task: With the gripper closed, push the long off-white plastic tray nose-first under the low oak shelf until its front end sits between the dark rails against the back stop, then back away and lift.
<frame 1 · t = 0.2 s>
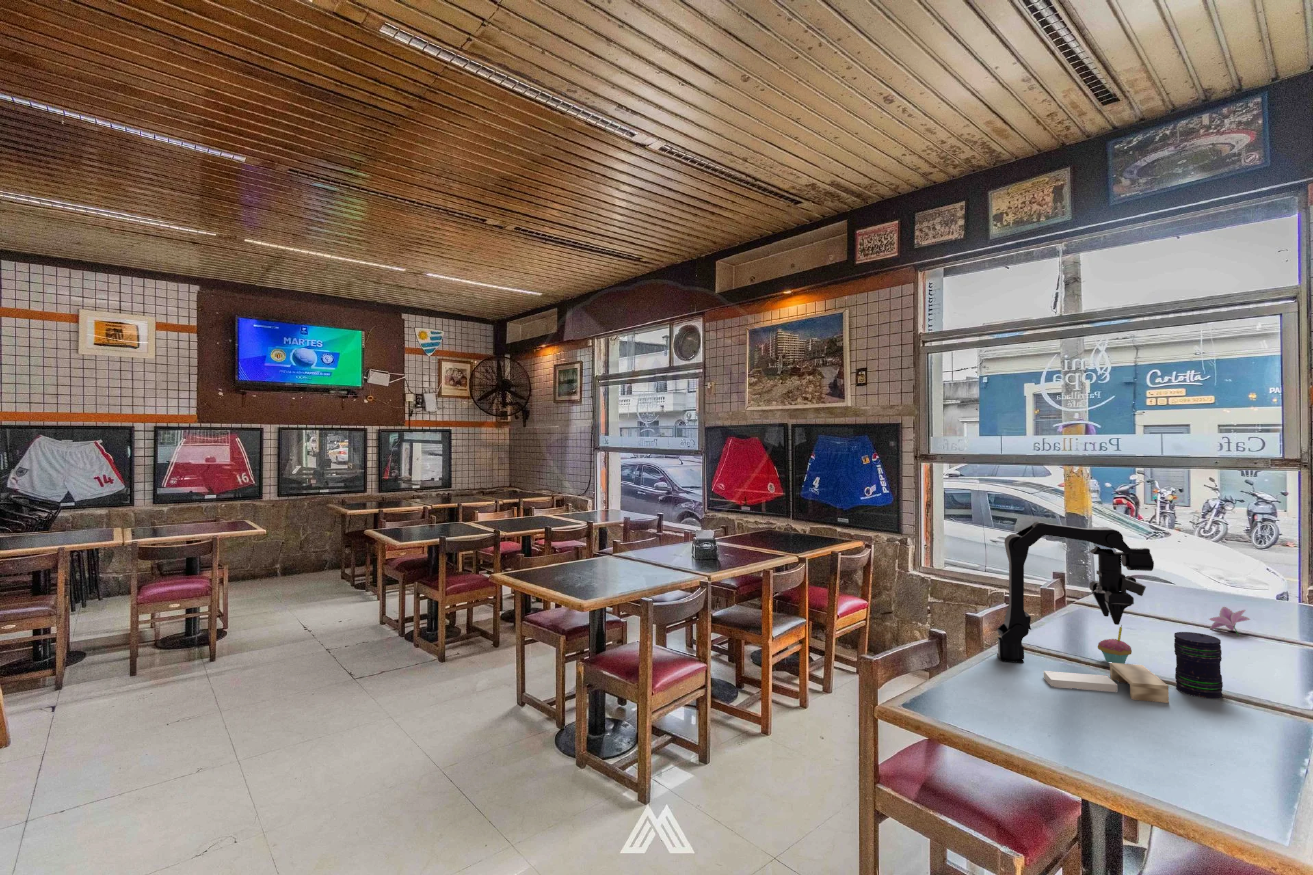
hand: (1111, 620, 188), 14 cm above the table, tool pointing down, fingers open, 9 cm apart
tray: (1079, 686, 176), on the table
cupcake: (1115, 663, 192), on the table
shelf: (1138, 689, 171), on the table
storage jar: (1198, 692, 169), on the table
lily: (1229, 633, 219), on the table
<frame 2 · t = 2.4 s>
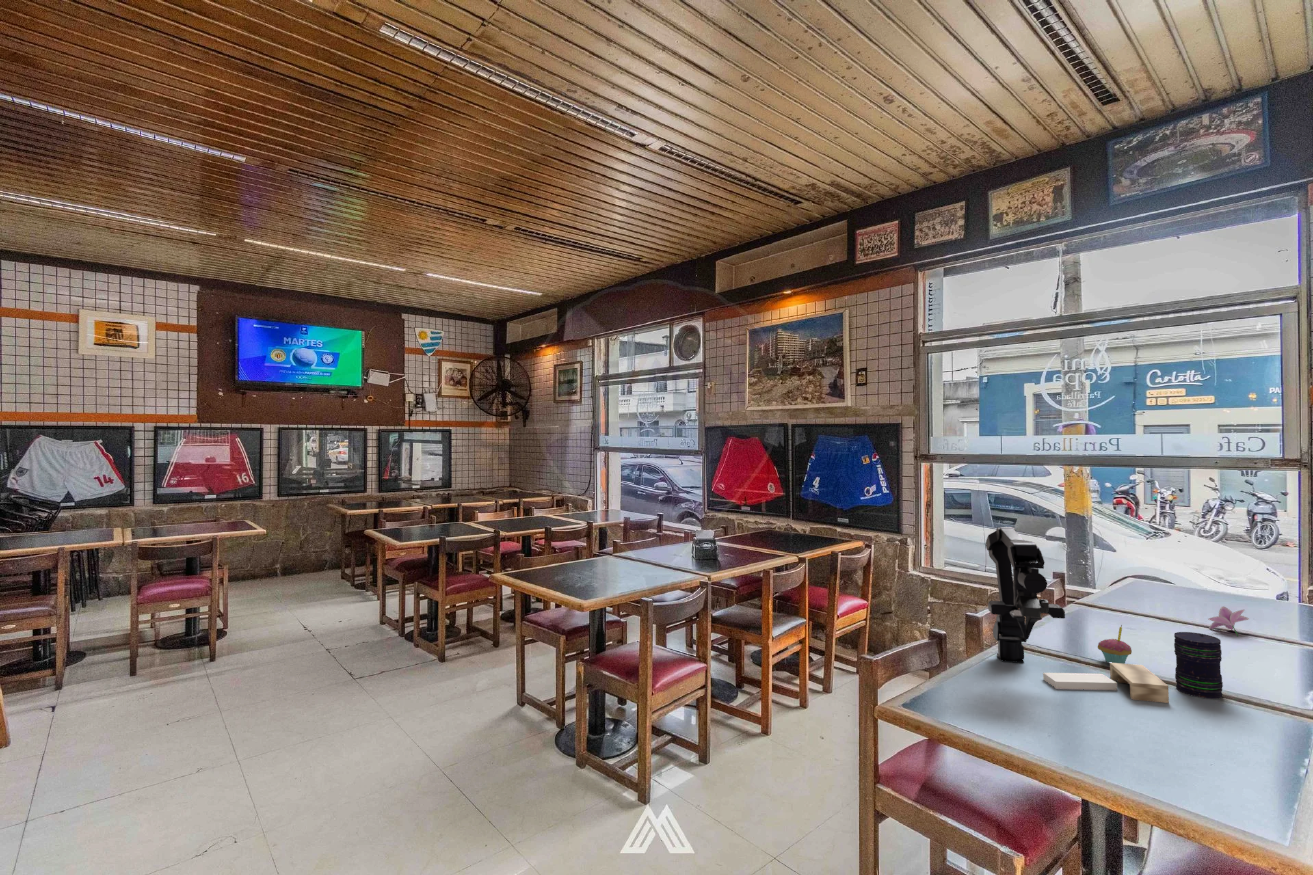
hand: (1026, 638, 180), 12 cm above the table, tool pointing down, fingers closed
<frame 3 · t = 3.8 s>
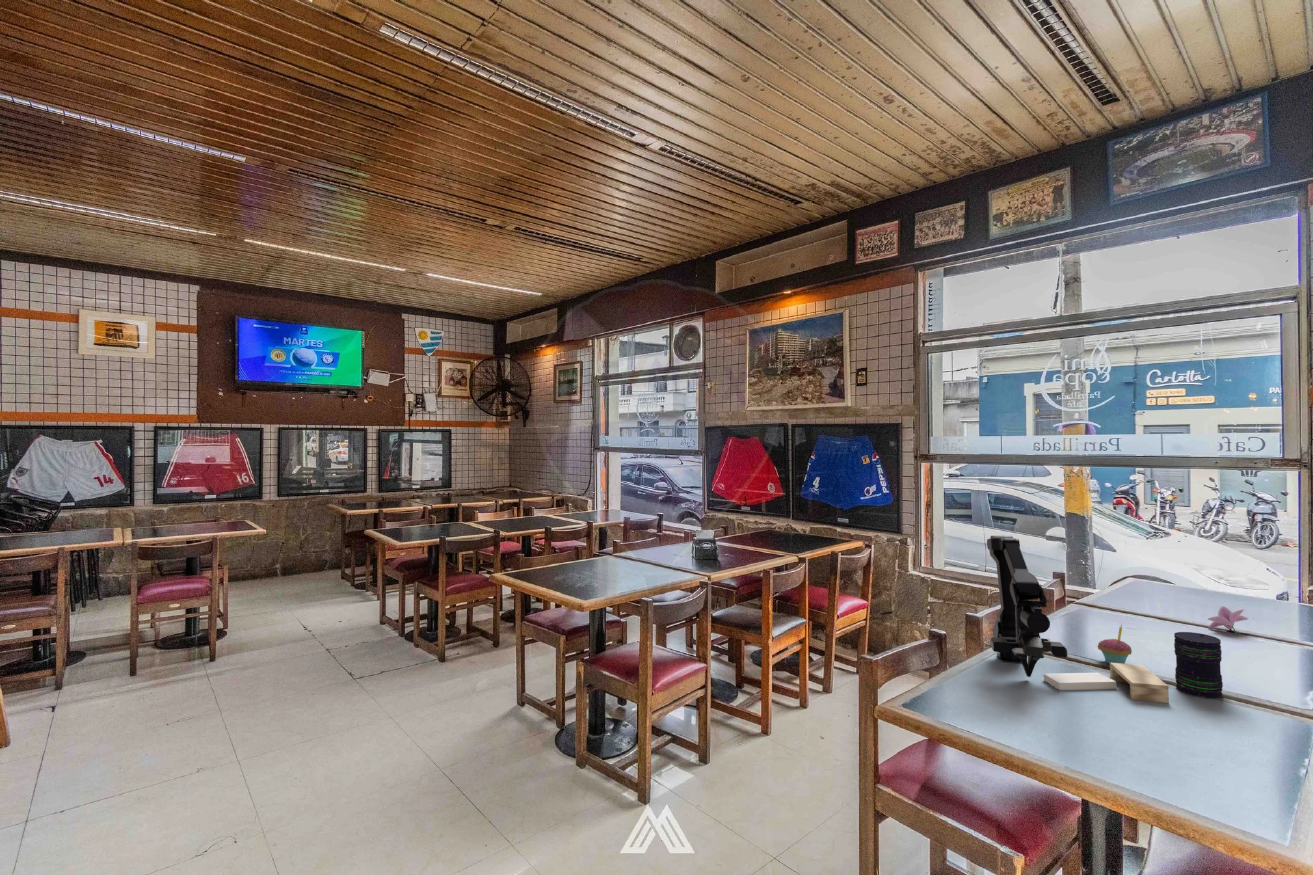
hand: (1028, 676, 180), 1 cm above the table, tool pointing down, fingers closed
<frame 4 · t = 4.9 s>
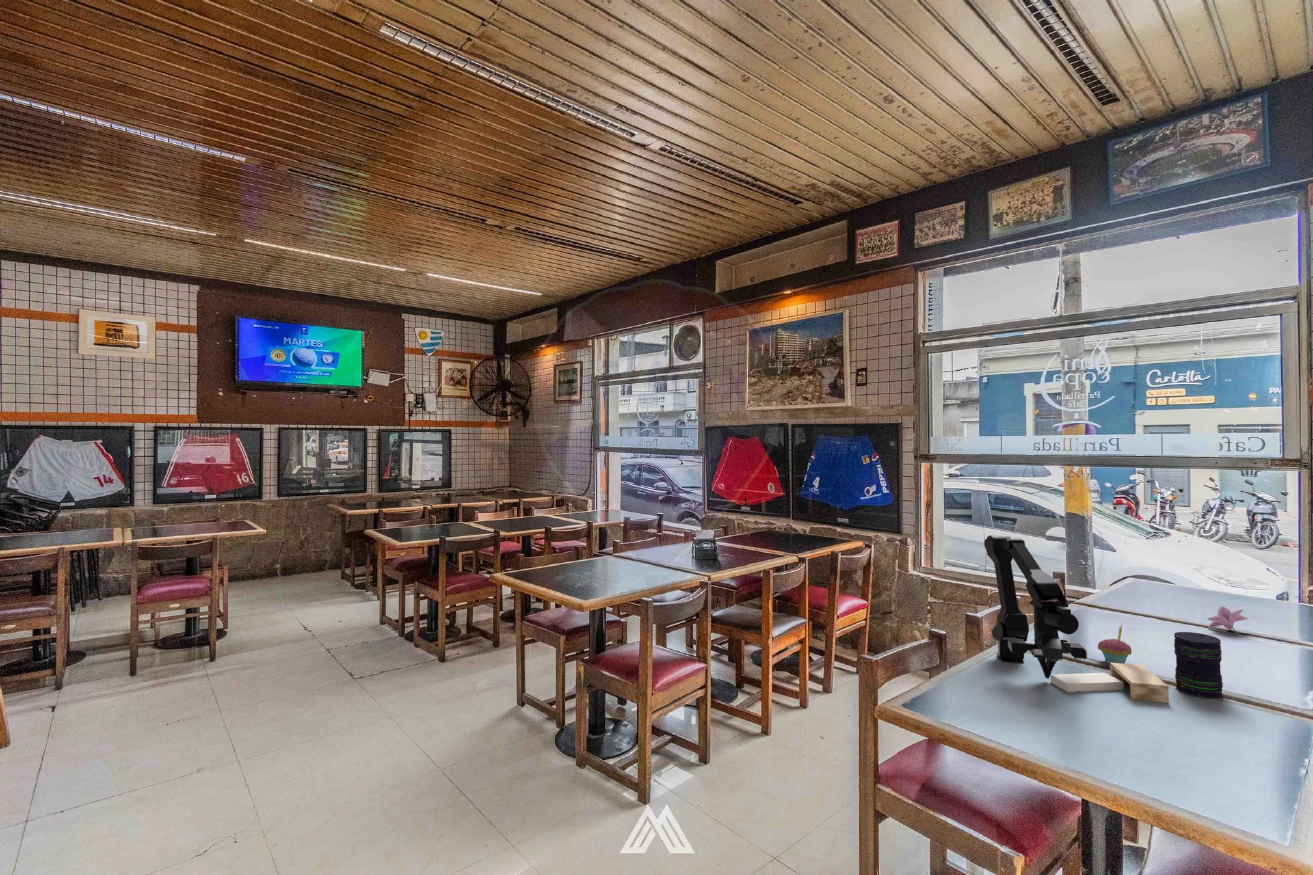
hand: (1047, 677, 178), 1 cm above the table, tool pointing down, fingers closed
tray: (1086, 686, 175), on the table
everything else where it was.
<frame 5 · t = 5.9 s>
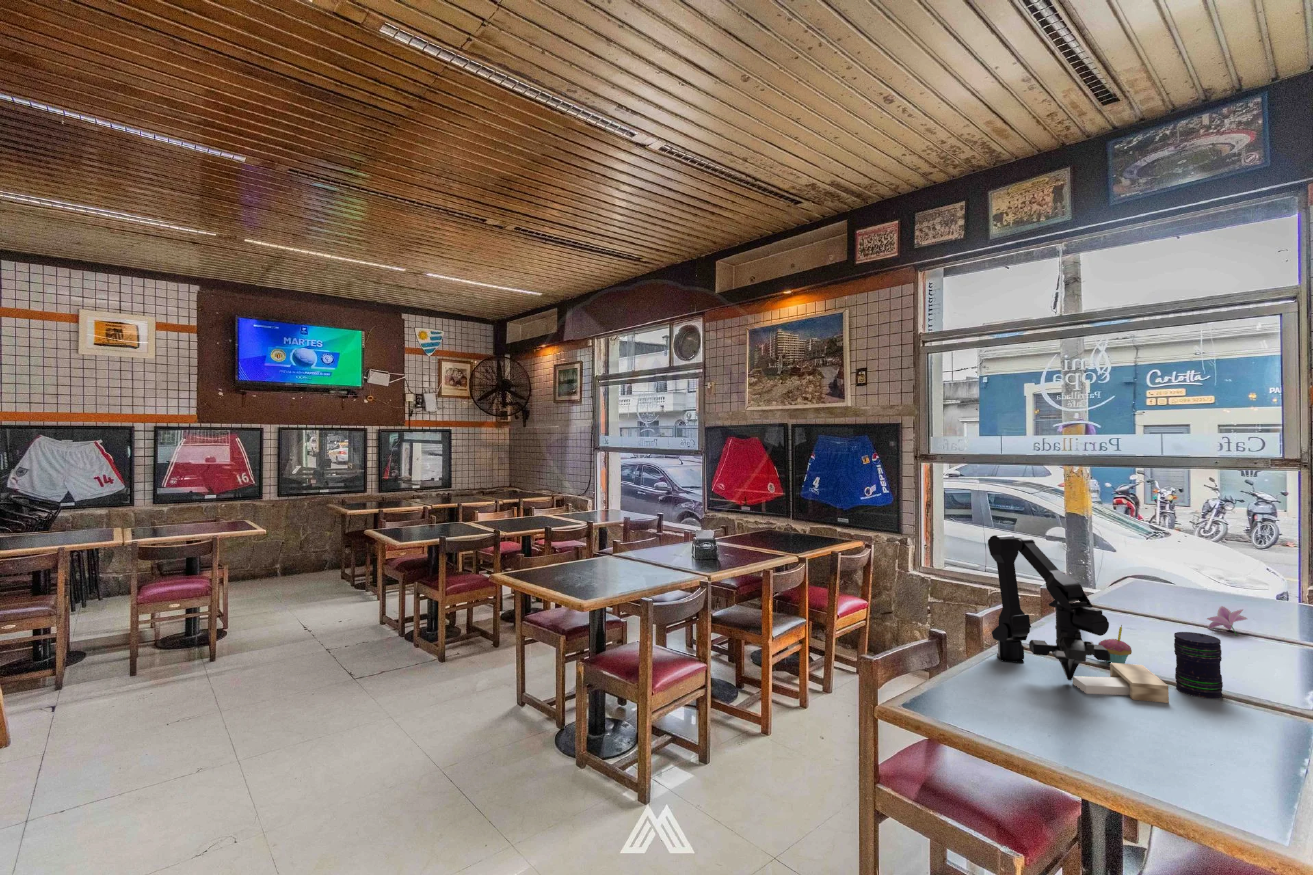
hand: (1069, 679, 177), 1 cm above the table, tool pointing down, fingers closed
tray: (1110, 690, 172), on the table
everything else where it was.
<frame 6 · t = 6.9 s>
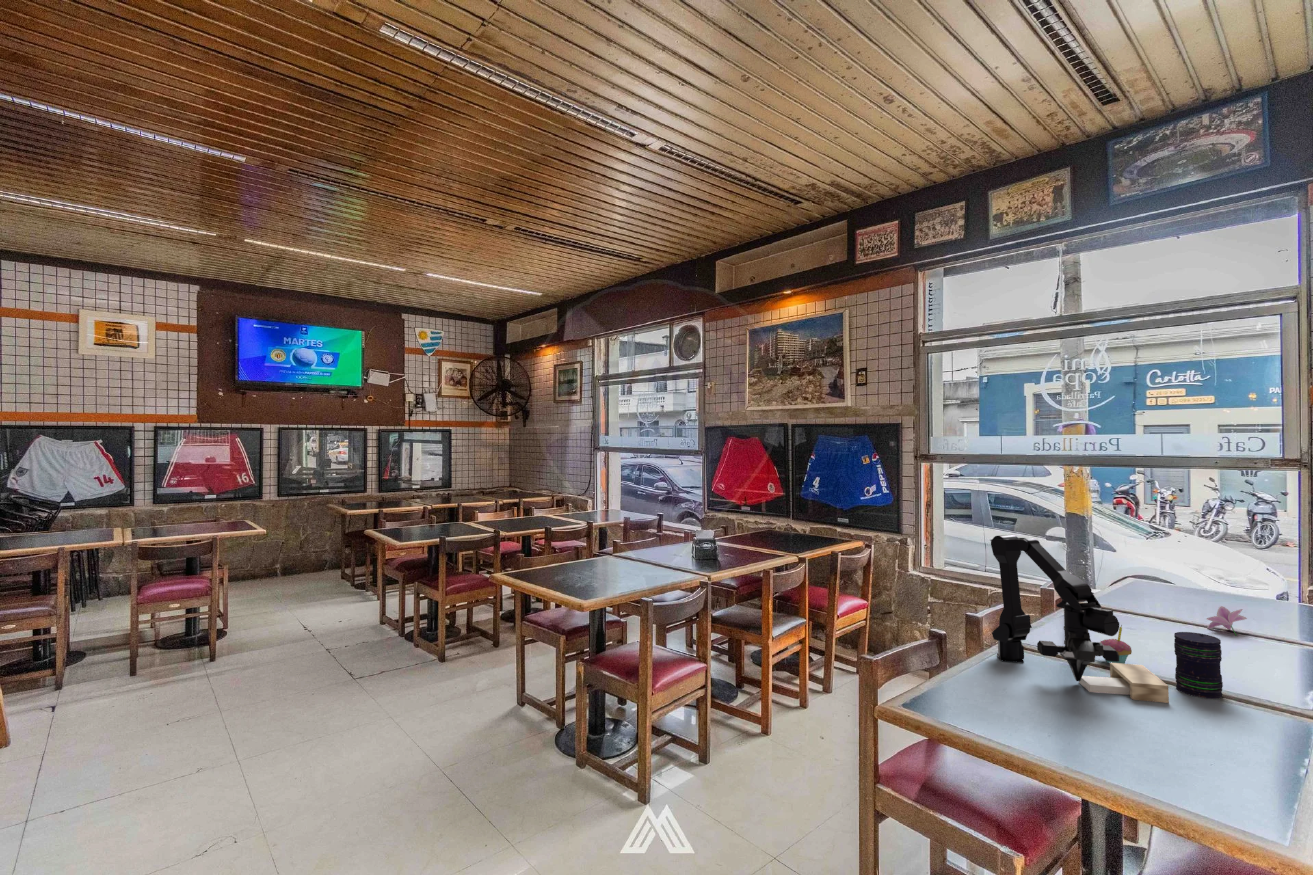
hand: (1077, 680, 176), 1 cm above the table, tool pointing down, fingers closed
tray: (1116, 691, 172), on the table
everything else where it was.
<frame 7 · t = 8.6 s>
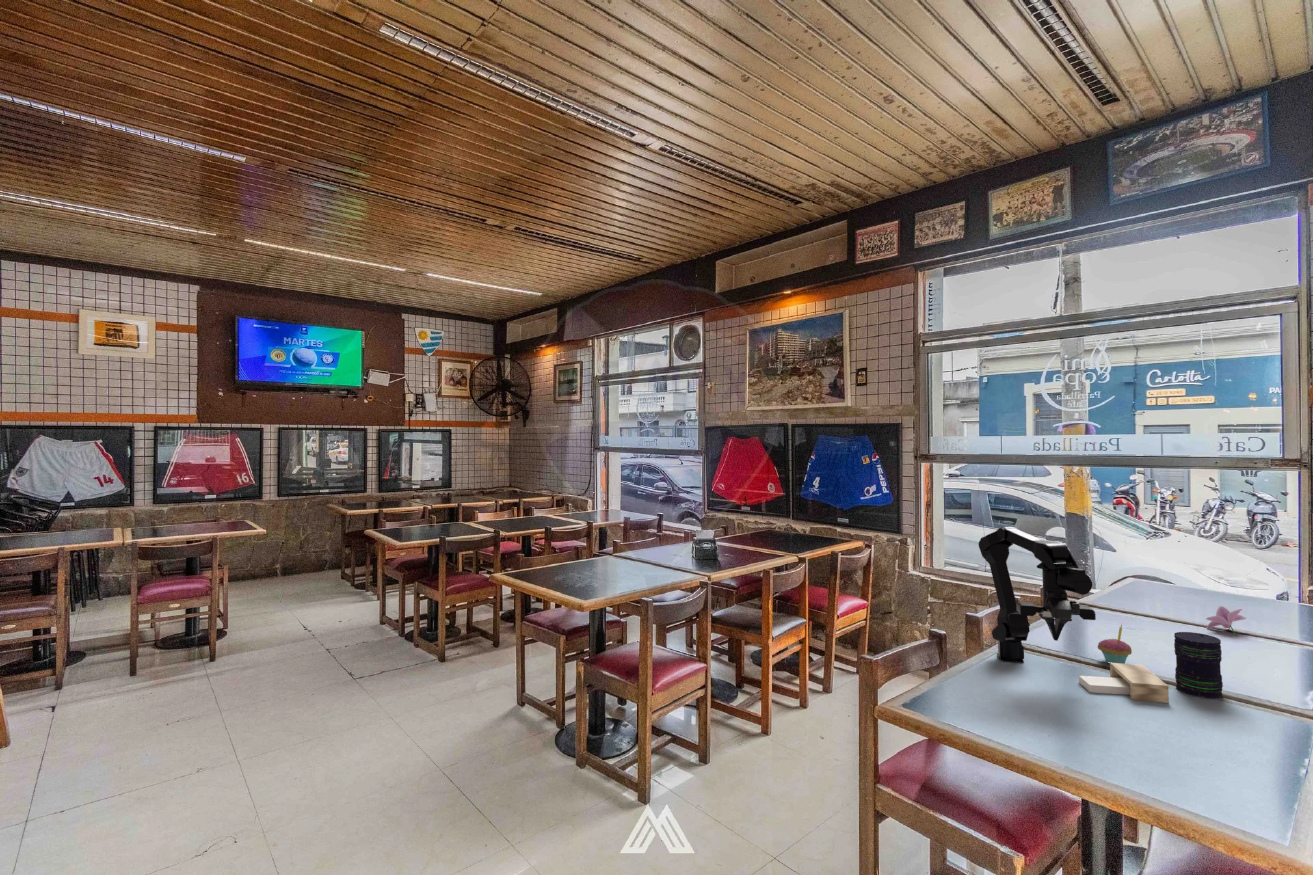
hand: (1055, 640, 179), 12 cm above the table, tool pointing down, fingers closed
nothing on the table moved.
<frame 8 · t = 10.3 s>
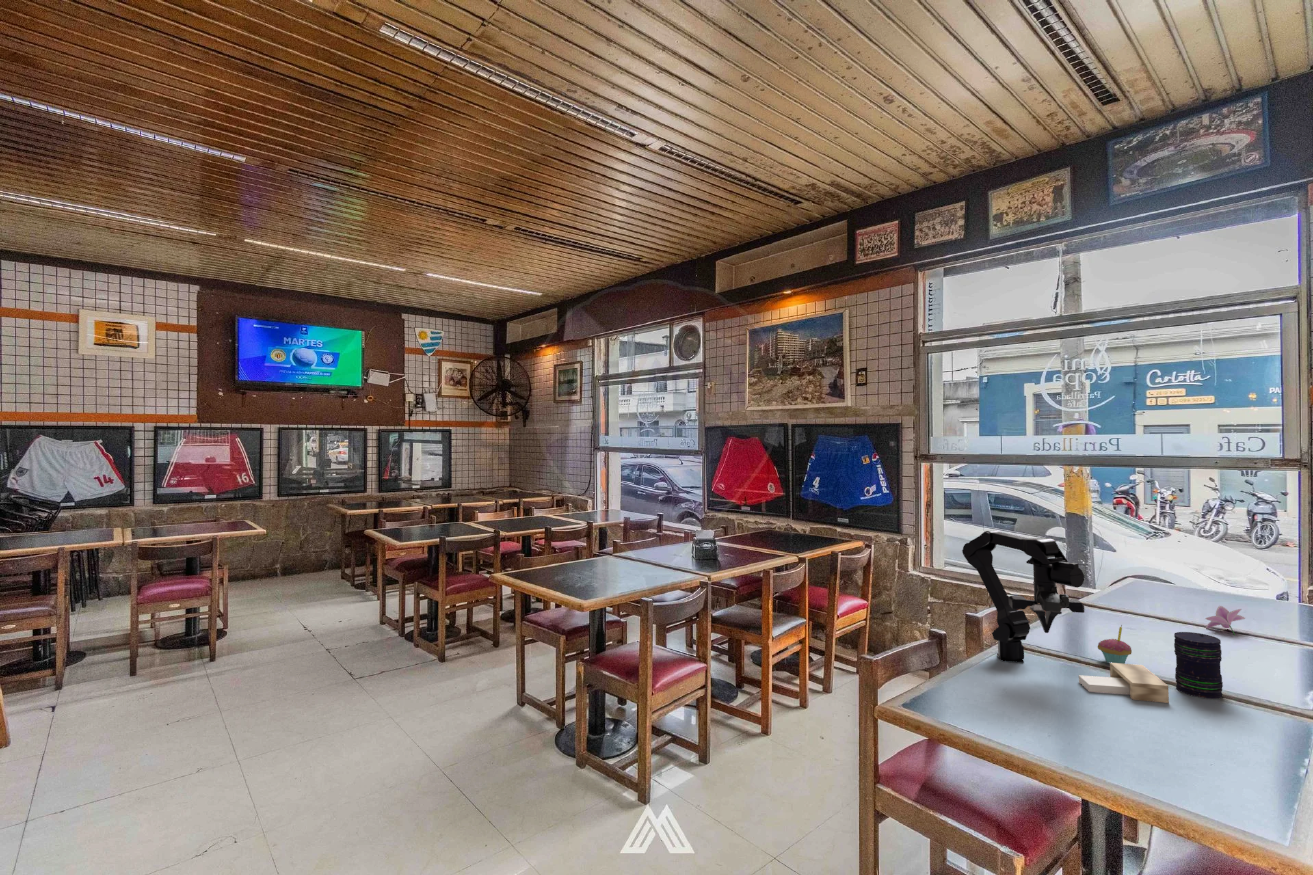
hand: (1046, 632, 186), 12 cm above the table, tool pointing down, fingers closed
at the end: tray 1.0 cm from the target spot on the table beside the shelf, on the table; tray tilted 0° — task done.
